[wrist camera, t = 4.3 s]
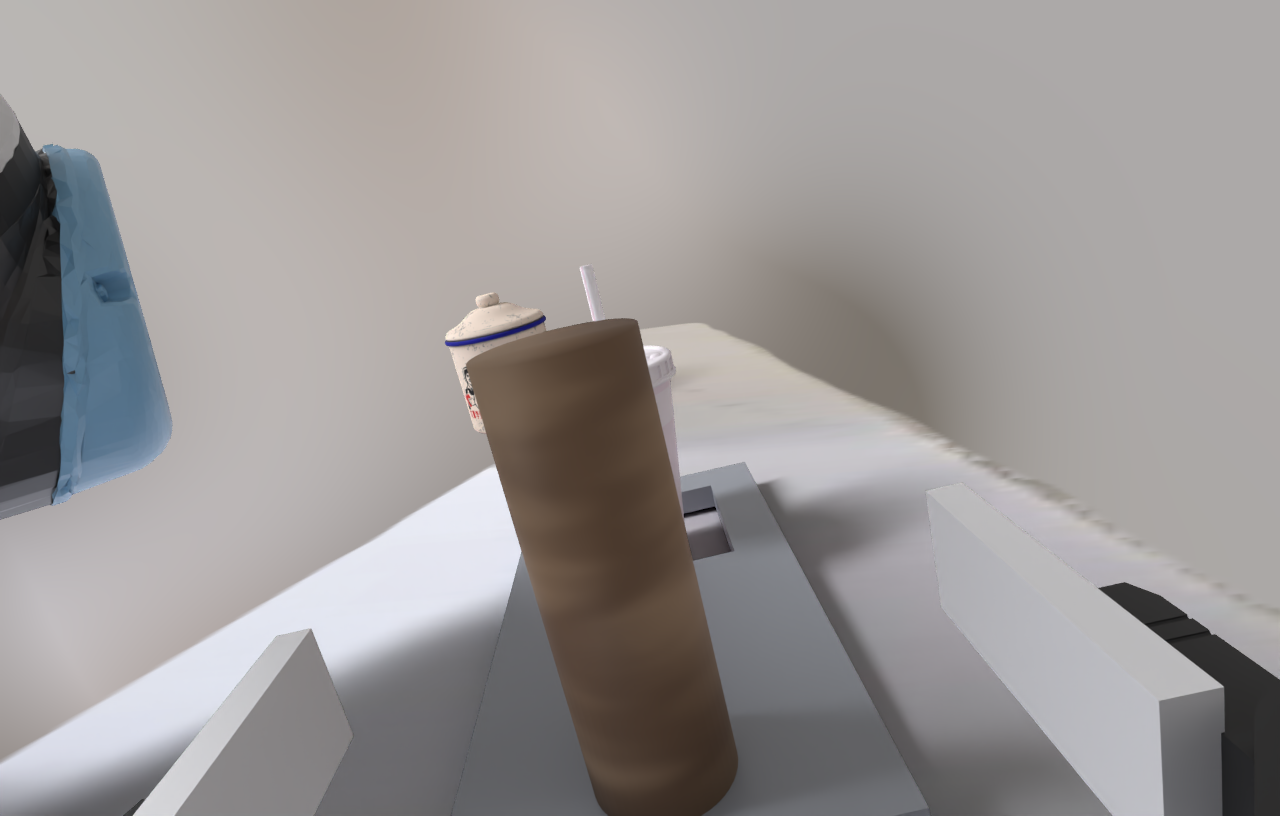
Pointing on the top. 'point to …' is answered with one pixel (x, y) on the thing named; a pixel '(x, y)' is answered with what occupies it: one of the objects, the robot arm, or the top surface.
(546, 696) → the cup holder tray
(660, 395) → the smoothie
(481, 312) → the teacup with lid
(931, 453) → the top surface
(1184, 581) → the top surface
